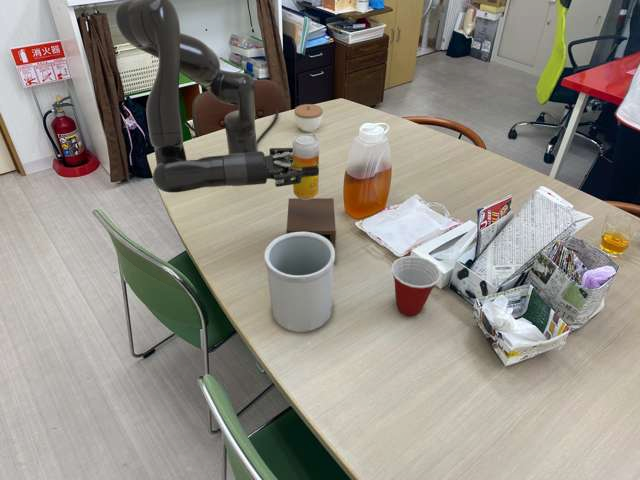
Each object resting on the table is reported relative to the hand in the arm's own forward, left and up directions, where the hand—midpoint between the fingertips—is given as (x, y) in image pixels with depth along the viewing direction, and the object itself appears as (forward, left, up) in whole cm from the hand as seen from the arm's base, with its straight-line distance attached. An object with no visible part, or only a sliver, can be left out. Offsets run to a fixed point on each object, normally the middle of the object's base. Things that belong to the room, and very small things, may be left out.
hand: (315, 163), depth 109 cm
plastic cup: (+23, +22, -26) cm, 41 cm away
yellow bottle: (0, -2, -9) cm, 9 cm away
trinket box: (-70, -2, -26) cm, 75 cm away
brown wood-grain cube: (+1, -1, -25) cm, 26 cm away
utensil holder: (+23, -3, -26) cm, 35 cm away
